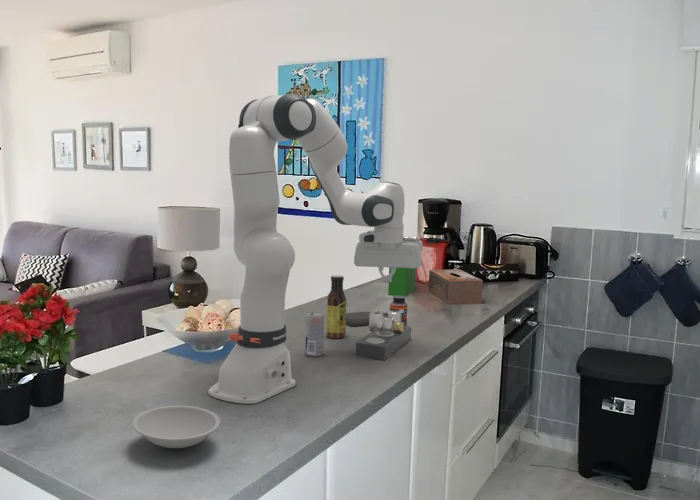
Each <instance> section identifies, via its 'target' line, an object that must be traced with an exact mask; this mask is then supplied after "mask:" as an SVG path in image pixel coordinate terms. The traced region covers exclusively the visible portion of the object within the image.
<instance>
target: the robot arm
mask: <svg viewBox="0 0 700 500" xmlns="http://www.w3.org/2000/svg"><path fill="white" fill-rule="evenodd" d="M291 140H292V141H293V140H297V141H298V143H299V145H300V147H301V148H302V149H303V151H304V153H305V154H306V156H307V158H308V159H309V161H310V162H309V163H310V168H311V170H312V172H313V174H314V176H315V178H316V181H317V182H318V183H319V186H320V188H321V189H322V191H323V193H324V195H325V197H326V198H327V202H328V205H329V207H330V212H331V214H332V217H333V219H334V220H335V222H337V224H340V225H341V226H359V227H366V228H367V227H369V228H373V230H368V231H365V232H361V233H360V234H359V235H358V240H359V242H357V243H356V246H355V250H354V256H353V264H354V265H355V266H356V267H363V268H364V267H366V268H367V267H368V268H370V267H371V268H378V273H379V274H380V276H381V282H382V283H389V282H391V281H392V276H393V274H394V273H395V271H396V268H416V269H419V268H420V267H421V266H422V255H421V254H422V253H421V252H422V250H423V246H424V245H423V240H421V239H420V238H418V237H417V236H414V237H410V236H404V228H405V227H404V226H405V225H404V223H403V222H404V221H403V218H404V215H405V204H406V203H405V191H404V188H403V186H402V185H400V184H399V183H397V182H396V183H395V182H390V181H380V182H378V183H377V185H376V186H375V187H374V188H373V189H371V190H369V191H367V192H357V191H356V192H355V191H352V190H350V189H348V188H347V187H346V186H345V184H344V182H343V180H342V179H341V176H340V174H339V172H338V170H337V167H338V166H339V165H340V164H341V163H342V162H343V161H344V159H345V158H346V157H347V156H346V155H347V153H348V146H349V145H348V142H347V140H346V137H345V135H344V133H343V132H342V130H341V129H340V126H339V125H338V124H337V122H336V120H335V119H334V118H333V116H332V115H331V114H330V113H329V111H328V110H327V109H326V107H324V106H323V105H322V103H320V102H319V100H317V99H315V98H309V97H308V98H305V97H303V96H302V95H299V94H293V93H287V94H282V95H280V94H278V95H268V96H263V97H262V98H258V99H257V98H255V99H253V100H251V101H249V102H248V103H246V104H245V105H244V106H243V107H242V109H241V111H240V113H239V120H238V126H237V128H236V129H234V130H233V132H232V133H231V134H230V137H229V145H228V146H229V147H228V150H229V151H228V159H229V160H228V161H229V163H228V164H229V174H230V183H231V191H232V196H233V197H232V198H233V199H232V200H233V210H234V216H233V217H234V219H233V237H234V238H233V251H234V254H235V257H236V258H237V260H238V261H239V262H240V263H241V264H242V265H243V266H245V275H244V281H243V283H244V284H243V287H242V292H241V293H240V297H239V298H240V299H239V301H240V306H239V307H240V310H239V311H240V313H239V315H240V325H239V327H238V330H237V333H236V332H231V333H230V334H229V340H230V341H232V342H235V344H234V345H235V346H234V347H233V348H232V349H231V351H230V352H229V354H228V355H227V357H226V359H225V360H224V361H223V363H222V364H221V366H220V368H219V371H218V381H217V382H216V383H215V384H213V385H212V386H210V387H209V389H207V390H208V392H207V394H208V395H209V396H210V397H212V398H215V399H219V400H222V401H225V402H231V403H236V404H258V403H260V402H262V401H264V400H267V399H269V398H271V397H273V396H275V395H277V394H280V393H283V392H285V391H287V390H289V389H291V388H293V387H295V386H296V380H295V379H294V378H293V376H292V366H291V364H292V363H291V354H290V353H291V352H290V351H289V349H288V347H287V345H286V341H287V334H288V332H287V326H286V325H285V317H286V316H285V315H286V313H285V312H286V311H285V308H286V307H285V306H286V305H285V303H286V302H285V300H286V291H287V285H288V281H289V277H290V272H291V269H292V268H293V266H294V264H295V261H296V252H295V248H294V247H293V245H292V243H291V242H290V241H289V240H288V238H287V237H286V236H285V235H283V234H282V233H280V232H278V231H277V222H278V221H277V219H278V209H279V206H280V193H279V191H280V190H279V182H278V174H277V166H276V160H275V149H276V148H275V147H276V145H277V143H279V142H286V141H291ZM389 267H391V271H392V272H391V273H390V275H389V274H388V275H386V274H384V273H383V271H384V268H389Z"/></svg>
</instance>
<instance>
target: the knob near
mask: <svg viewBox="0 0 700 500" xmlns="http://www.w3.org/2000/svg"><path fill="white" fill-rule="evenodd" d="M370 312H371V313H369V325H368V331H369V332H370V333H371V332H381V331H383V313H384V312H380V311H370Z"/></svg>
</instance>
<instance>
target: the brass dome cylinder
mask: <svg viewBox="0 0 700 500" xmlns="http://www.w3.org/2000/svg"><path fill="white" fill-rule="evenodd" d="M403 330H404V323H403V322H394V333H397V334H401V333H403Z"/></svg>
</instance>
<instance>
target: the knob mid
mask: <svg viewBox="0 0 700 500" xmlns="http://www.w3.org/2000/svg"><path fill="white" fill-rule="evenodd" d="M379 334H380V335H391V334H392V317H389V316H383V331H381V332H379Z"/></svg>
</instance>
